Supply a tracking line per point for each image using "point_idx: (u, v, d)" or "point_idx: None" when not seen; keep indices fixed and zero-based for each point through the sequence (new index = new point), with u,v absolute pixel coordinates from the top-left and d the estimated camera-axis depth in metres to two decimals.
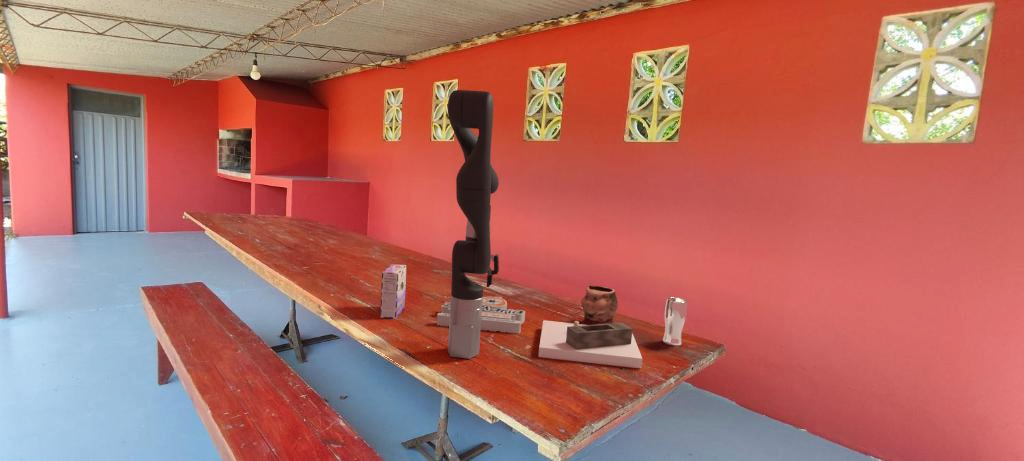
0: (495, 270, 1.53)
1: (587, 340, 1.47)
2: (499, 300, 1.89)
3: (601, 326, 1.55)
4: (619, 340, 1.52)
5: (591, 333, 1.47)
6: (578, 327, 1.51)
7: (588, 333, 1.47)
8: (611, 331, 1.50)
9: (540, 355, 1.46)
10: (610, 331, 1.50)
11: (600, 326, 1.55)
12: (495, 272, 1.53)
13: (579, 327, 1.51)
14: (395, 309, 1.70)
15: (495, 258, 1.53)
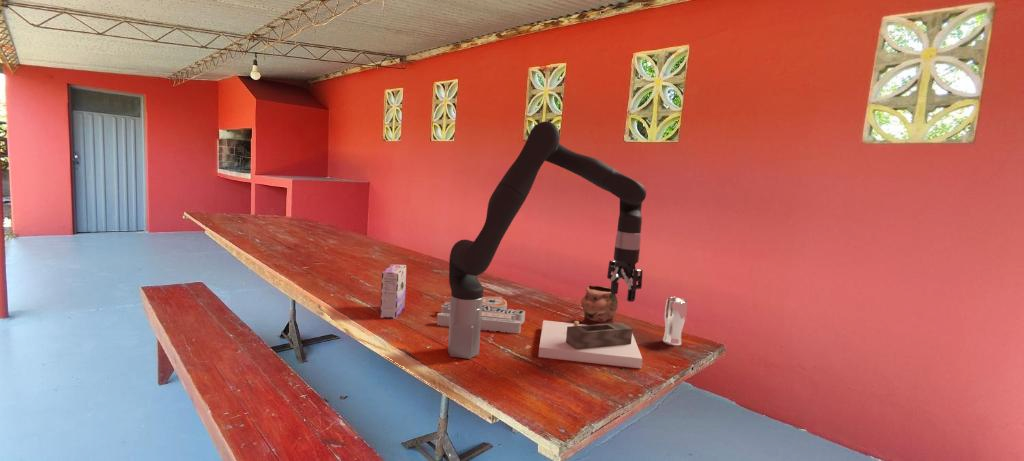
0: None
1: (587, 340, 1.47)
2: (499, 300, 1.89)
3: (601, 326, 1.55)
4: (619, 340, 1.52)
5: (591, 333, 1.47)
6: (578, 327, 1.51)
7: (588, 333, 1.47)
8: (611, 331, 1.50)
9: (540, 355, 1.46)
10: (610, 331, 1.50)
11: (600, 326, 1.55)
12: None
13: (579, 327, 1.51)
14: (395, 309, 1.70)
15: None
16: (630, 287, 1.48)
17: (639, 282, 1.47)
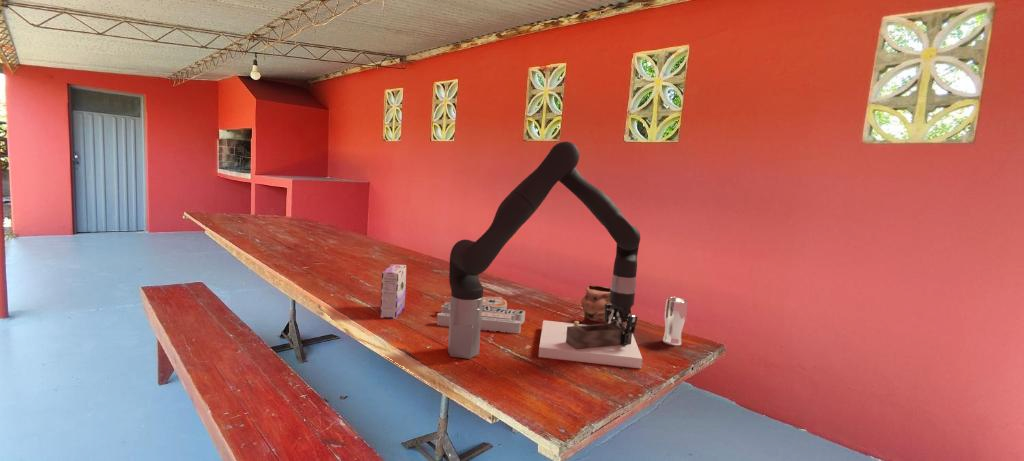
0: None
1: (587, 340, 1.47)
2: (499, 300, 1.89)
3: (601, 326, 1.55)
4: (619, 340, 1.52)
5: (591, 333, 1.47)
6: (578, 327, 1.51)
7: (588, 333, 1.47)
8: (611, 331, 1.50)
9: (540, 355, 1.46)
10: (610, 331, 1.50)
11: (600, 326, 1.55)
12: None
13: (579, 327, 1.51)
14: (395, 309, 1.70)
15: None
16: (623, 332, 1.51)
17: (632, 327, 1.50)
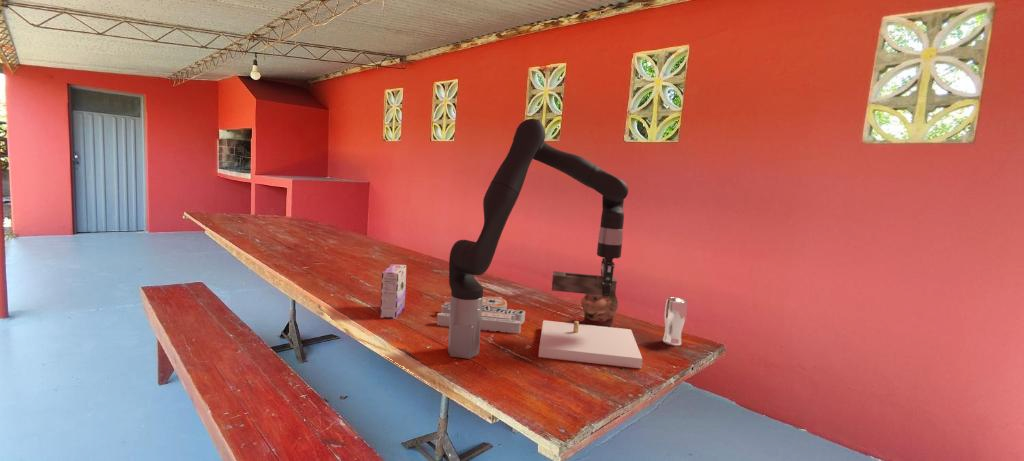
0: None
1: (563, 284, 1.57)
2: (499, 300, 1.89)
3: (589, 276, 1.60)
4: (600, 290, 1.55)
5: (568, 277, 1.56)
6: (562, 273, 1.61)
7: (564, 277, 1.56)
8: (591, 279, 1.55)
9: (540, 355, 1.46)
10: (590, 280, 1.55)
11: (588, 276, 1.60)
12: None
13: (563, 273, 1.61)
14: (395, 309, 1.70)
15: None
16: (603, 282, 1.54)
17: (610, 278, 1.52)
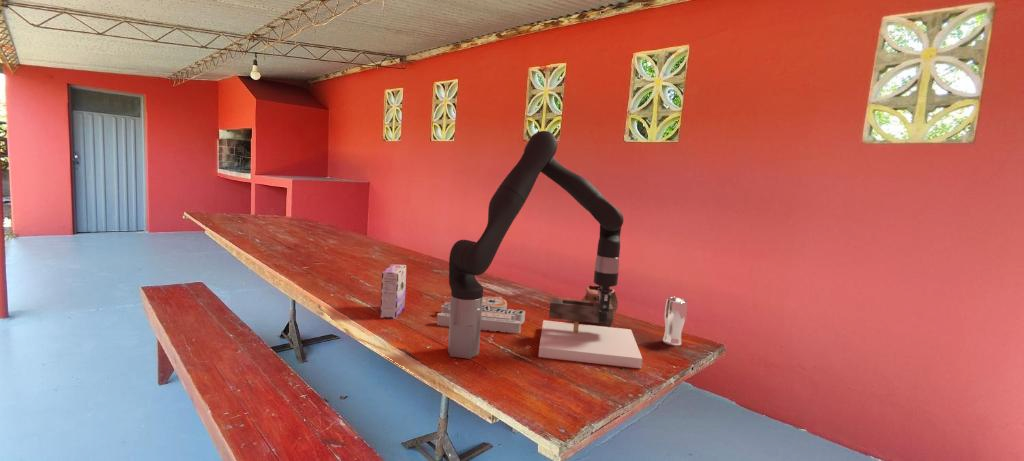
0: None
1: (561, 311, 1.58)
2: (499, 300, 1.89)
3: (586, 303, 1.62)
4: (597, 317, 1.57)
5: (565, 305, 1.58)
6: (560, 300, 1.62)
7: (562, 305, 1.58)
8: (588, 307, 1.57)
9: (540, 355, 1.46)
10: (587, 307, 1.57)
11: (585, 303, 1.62)
12: None
13: (561, 300, 1.62)
14: (395, 309, 1.70)
15: None
16: (600, 310, 1.56)
17: (607, 306, 1.53)
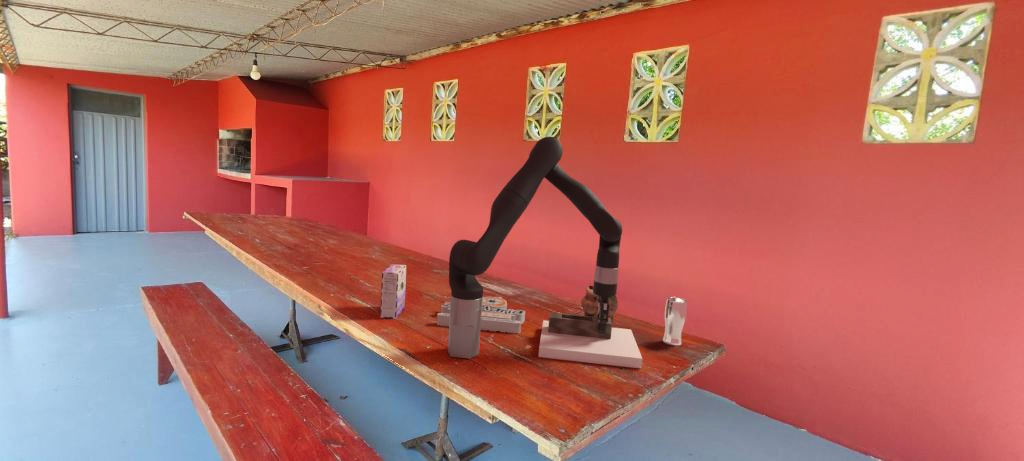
0: None
1: (560, 326, 1.59)
2: (499, 300, 1.89)
3: (585, 317, 1.62)
4: (596, 332, 1.58)
5: (564, 319, 1.58)
6: (559, 314, 1.63)
7: (561, 319, 1.58)
8: (587, 322, 1.57)
9: (540, 355, 1.46)
10: (586, 322, 1.57)
11: (584, 317, 1.62)
12: None
13: (560, 314, 1.63)
14: (395, 309, 1.70)
15: None
16: (599, 319, 1.55)
17: (606, 316, 1.53)
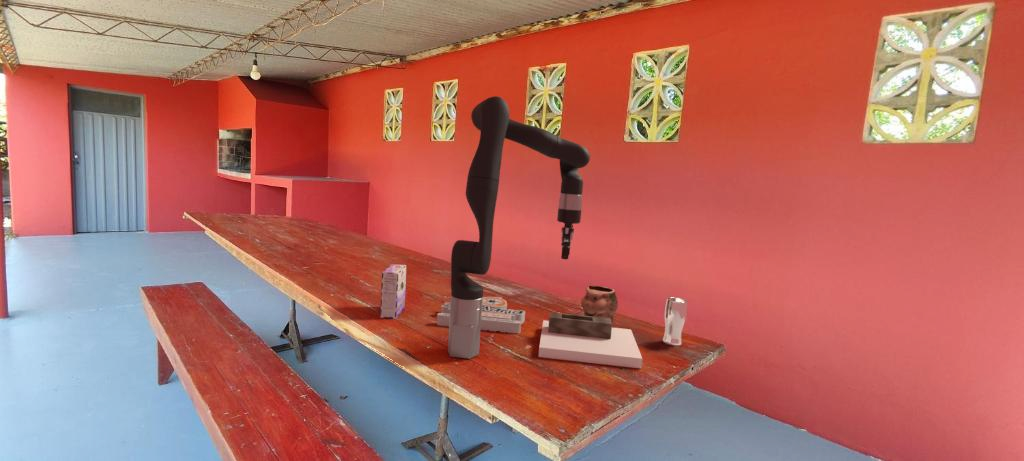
0: None
1: (560, 326, 1.59)
2: (499, 300, 1.89)
3: (585, 317, 1.62)
4: (596, 332, 1.58)
5: (564, 319, 1.58)
6: (559, 314, 1.63)
7: (561, 319, 1.58)
8: (587, 322, 1.57)
9: (540, 355, 1.46)
10: (586, 322, 1.57)
11: (584, 317, 1.62)
12: None
13: (560, 314, 1.63)
14: (395, 309, 1.70)
15: None
16: None
17: (568, 240, 1.55)
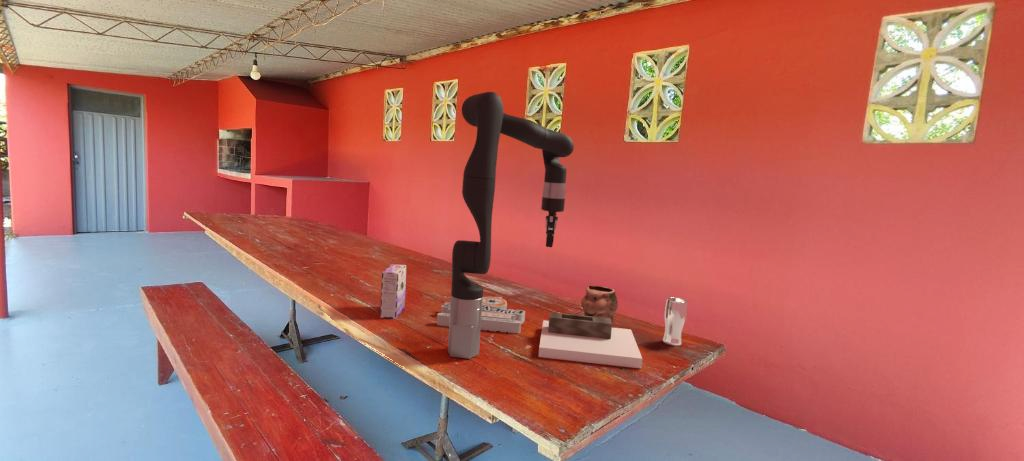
0: None
1: (560, 326, 1.59)
2: (499, 300, 1.89)
3: (585, 317, 1.62)
4: (596, 332, 1.58)
5: (564, 319, 1.58)
6: (559, 314, 1.63)
7: (561, 319, 1.58)
8: (587, 322, 1.57)
9: (540, 355, 1.46)
10: (586, 322, 1.57)
11: (584, 317, 1.62)
12: None
13: (560, 314, 1.63)
14: (395, 309, 1.70)
15: None
16: None
17: (552, 228, 1.57)
